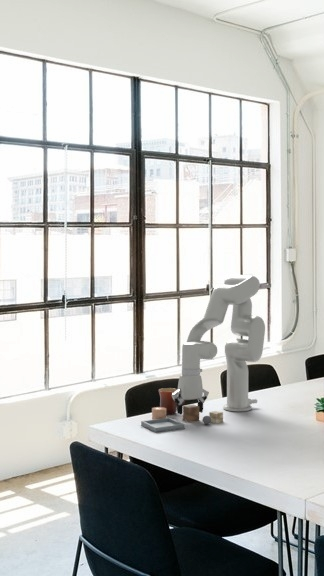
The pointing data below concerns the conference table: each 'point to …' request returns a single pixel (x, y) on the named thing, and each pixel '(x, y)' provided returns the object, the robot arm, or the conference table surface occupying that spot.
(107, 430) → the conference table surface
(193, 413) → the walnut block
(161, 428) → the tray
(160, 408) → the beige short cylinder
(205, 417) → the grey ball
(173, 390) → the mug
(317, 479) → the conference table surface
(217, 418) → the beech cube
